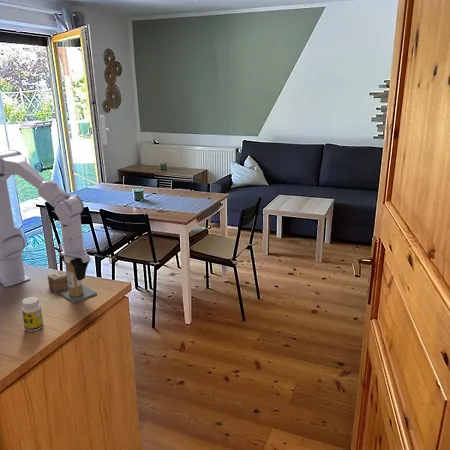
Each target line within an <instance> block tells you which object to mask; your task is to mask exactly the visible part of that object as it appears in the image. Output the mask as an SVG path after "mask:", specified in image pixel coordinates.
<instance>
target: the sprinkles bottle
mask: <svg viewBox="0 0 450 450" xmlns="http://www.w3.org/2000/svg"><path fill="white" fill-rule="evenodd" d="M74 259H76V257H73V256H68V255H66V256H64V261H65V263H64V265H65V274H66V275H67V283H68V288H67V289H68V290H69V295H70V296H73V297H75V296H80V295H82V294H83V287H82V285H83V279H82V280H78V279H77V277H76V273H75V269H74V267H73V265H72V263H71V262H70V261H71V260H74Z"/></svg>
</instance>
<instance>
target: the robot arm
mask: <svg viewBox="0 0 450 450" xmlns="http://www.w3.org/2000/svg"><path fill="white" fill-rule="evenodd" d="M11 176H19V177H20V178H21V179H23V180H25V181H26V182H28V183H29V184H30V185H31V186H33V187H35V188H36V190H37V191H38V192H37V193H38V195H39V197H41V199H43V200H44V201H45V202H47V203H48V204H49V205H50V206H51V207H53V208H54V209H53V211H54V213H55V214H56V216H57V218H58V221H59V223H60V227H61V235H62V236H61V237H62V243H60V244H59V250H60V251H61V252H60V254H59V257H60V258H61V260H62V262H63V263H64V264H65V261H64V256H66V255H68V256H73V257H76V259H74V260H71V261H70V262H71V263H72V265H73V267H74V269H75V273H76V277H77V279H78V280H82V281H83V280H84V279H86V274H87V273H86V271H87V268H88V265H89V263H90V261H91V258H90V255H89V254H88V253H87V251H86V249H85V247H84V239H83V238H84V237H83V228H82V227H83V226H82V219H81V213H82V212H83V211H84V208H85V207H84V202H83V200H82V199H81V198H80V196H79V195H76V194H71V193H68V192H67V191H65V190H64V189H63V188H62V187H61V186H59V185H58V183H57V182H56V181H55V180H46V179H45V178H44V177H43V176H42V175H41V174H40V173H39V172H38V171H37V170H36V169H35V168H34V167H32V166H31V164H29V162H28V161H27V157H26V156H25V155H24V154H23V153H22V152H21V151H19V150H18V149H11V150H8V151H3V152H0V284H1V285H2V286H3V287H6V288H8V287H11V286H14V285H17V284H20V283H24V282H26V281H30V280H31V278H30V277H29V276H28V275H26V274H25V268H24V261H23V256H22V254H23V253H24V249H25V248H26V246H27V245H26V239H25V238H24V236H23V232H22V230H21V229H19V228H18V227H16V226H15V221H14V217H13V210H12V206H11V199H10V194H9V188H8V182H7V181H8V179H9V178H10V177H11Z"/></svg>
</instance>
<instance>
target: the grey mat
mask: <svg viewBox="0 0 450 450" xmlns="http://www.w3.org/2000/svg"><path fill="white" fill-rule="evenodd" d="M82 287H83V294H82V295H80V296H75V297H73V296H70V295H69V289H68V290H65V291H63V292H60V296H62V297H64V298H65V299H66V300H67V301H69V302H71V303H72V304H77V303H79V302H81V301H83V300H87V299H89V298H92V297H94V296H97V295H98V292H97V291H94V290H93V289H91V288H89V287H88V286H86V285H85V284H82Z"/></svg>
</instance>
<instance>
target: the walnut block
mask: <svg viewBox="0 0 450 450" xmlns="http://www.w3.org/2000/svg"><path fill="white" fill-rule="evenodd" d="M47 281H48V287H49V289H50V290H52V291H53V292H55V293H58V292H60V291H63V290H65V289H68V283H67V275H66V273H64V272H63V271H57V272H54V273H52V274H48V275H47Z"/></svg>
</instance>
